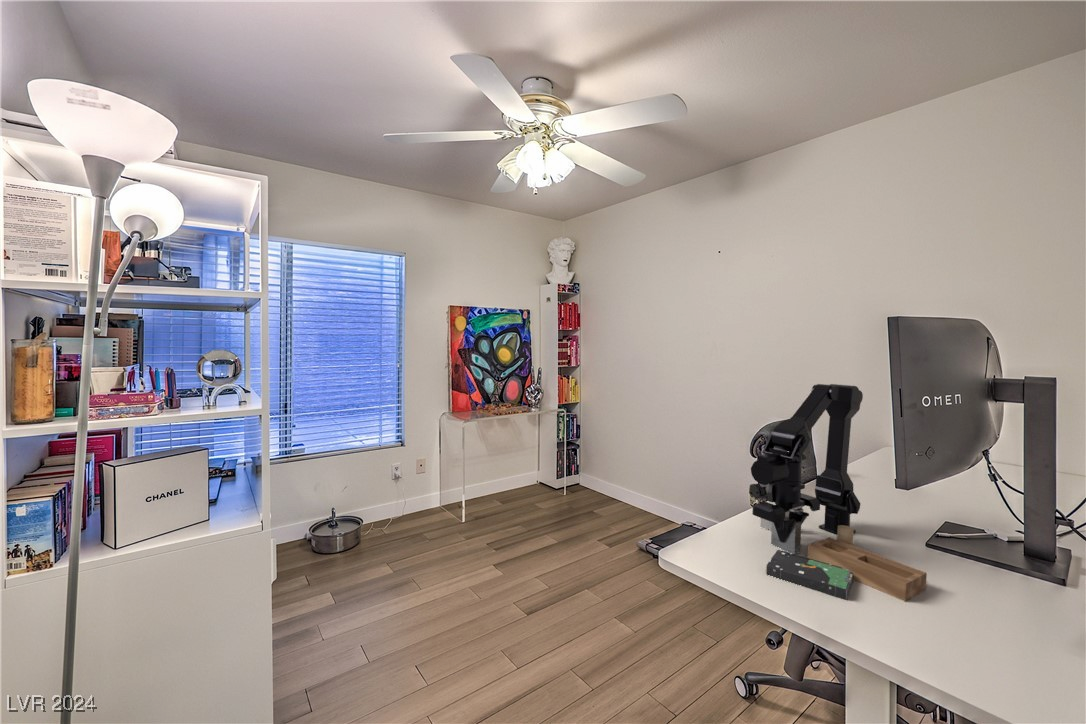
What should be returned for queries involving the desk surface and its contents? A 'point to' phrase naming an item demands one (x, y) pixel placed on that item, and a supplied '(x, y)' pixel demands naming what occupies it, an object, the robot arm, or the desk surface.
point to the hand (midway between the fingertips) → (785, 541)
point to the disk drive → (811, 574)
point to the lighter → (765, 524)
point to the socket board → (870, 568)
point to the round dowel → (845, 534)
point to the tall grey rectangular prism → (788, 538)
